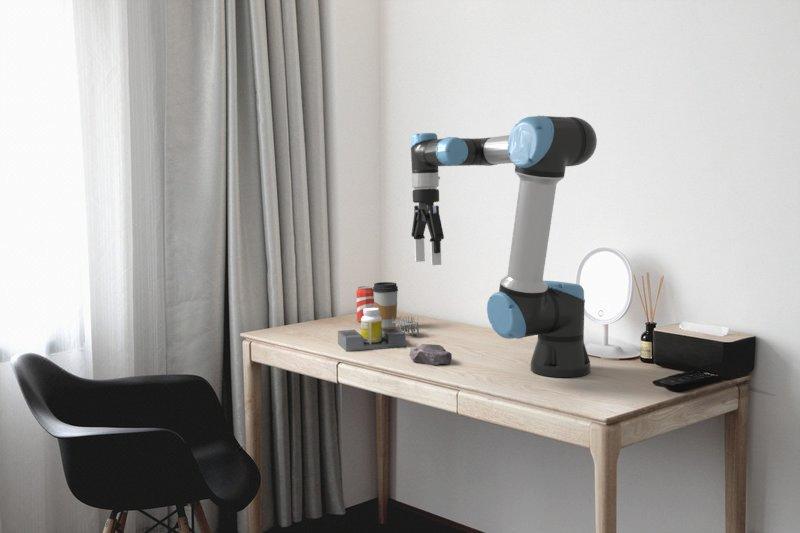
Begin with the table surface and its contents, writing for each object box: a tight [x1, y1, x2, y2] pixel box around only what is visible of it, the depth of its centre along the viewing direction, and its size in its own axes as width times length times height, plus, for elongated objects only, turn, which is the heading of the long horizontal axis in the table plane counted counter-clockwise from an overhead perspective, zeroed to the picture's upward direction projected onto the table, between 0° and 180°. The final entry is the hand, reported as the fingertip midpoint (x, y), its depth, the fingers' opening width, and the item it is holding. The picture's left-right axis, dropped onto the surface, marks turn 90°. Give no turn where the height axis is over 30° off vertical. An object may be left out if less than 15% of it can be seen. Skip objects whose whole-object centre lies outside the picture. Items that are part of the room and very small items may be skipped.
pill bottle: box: [360, 308, 382, 345], centre depth 248 cm, size 6×6×11 cm
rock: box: [408, 343, 453, 366], centre depth 226 cm, size 8×11×5 cm
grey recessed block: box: [337, 326, 407, 352], centre depth 248 cm, size 11×18×4 cm, turn 107°
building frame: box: [392, 316, 420, 338], centre depth 261 cm, size 6×8×6 cm
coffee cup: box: [372, 281, 399, 328], centre depth 272 cm, size 8×8×15 cm
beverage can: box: [355, 285, 375, 323], centre depth 286 cm, size 6×6×12 cm
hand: (427, 263), depth 237 cm, fingers open, 13 cm apart
